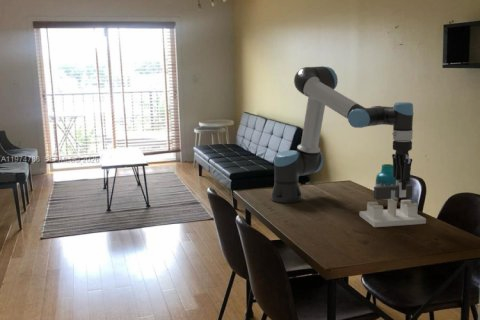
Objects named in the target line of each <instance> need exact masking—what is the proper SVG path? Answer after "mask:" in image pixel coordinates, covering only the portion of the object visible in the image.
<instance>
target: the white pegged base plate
mask: <svg viewBox="0 0 480 320" xmlns="http://www.w3.org/2000/svg"><path fill="white" fill-rule="evenodd" d="M397 203H398V202H396V201H394V200H393V199H388V206H387V209H384V206H382V205H379V204H378V202H377V201H367V203H366V210H361V211H360V210H359V213H358V214H359V217H360V218H362V219H363V220H364V221H365V222H367V223H369V224H370V225H371V226H372V227H373V228H382V227H394V226H395V227H397V226H410V225H411V226H412V225H423V224H427V219H426V218H425V217H424V216H422V215H420V214H418V203H417V202H412V200H411V199H401V200H400V208H397Z"/></svg>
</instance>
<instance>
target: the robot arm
mask: <svg viewBox="0 0 480 320" xmlns="http://www.w3.org/2000/svg"><path fill="white" fill-rule="evenodd" d="M293 83H294V86H295V89H296V91H298V92H299V93H300V94H302V95H304V96H305V97H307V104H306V110H305V114H304V116H305V117H304V122H303V128H302V136H301V142H300V144H298V145H297V146H296V147H297V148H296V150H289V149H288V150H282V151H279V152H277V153H276V154H275V155H274V160H273V161H274V162H273V165H274V166H273V168H274V169H273V170H274V171H273V172H274V173H273V174H274V176H273V177H274V185H273V187H272V190H271V193H270V199H271V201H273V202H274V203H282V204H283V203H284V204H291V203H293V204H294V203H298V202H300V201H302V200H303V194H302V191H301V189H300V185H299V177H301V176H306V175H313V174H314V173H317V172H319V171H320V170H321V169H322V167H323V165H324V157H323V154H322V152H321V148H320V147H319V143H320V137H321V132H322V124H323V121H324V114H325V109H326V107H328V108H329V109H331V110H332V111H334V112H335V113H337V114H339V115H341V116H342V117H344V118H346V119H347V122H348V123H349V125H350V126H351V127H353V128H358V129H362V128H367V127H374V126H379V125H380V126H381V125H385V126H386V125H389V126H392V127H393V128H392V131H393V132H392V140H393V141H392V150H394V151H395V153H392V154H391V158H392V165H393V177H395V180H396V185H399V197H400V198H399V199H402V198H401V197H406V185H407V183H408V182H410V179H411V172H412V171H411V169H412V163H413V158H410V153H409V152H410V151H411V150H412V149H413V141H412V140H413V132H414V130H413V123H414V122H413V121H414V105H413V103H412V102H407V101H406V102H405V101H400V102H399V101H398V102H395V103H394V104H393V106H382V105H374V106H371V107H364V106H363V105H361V104H359V103H357V102H356V101H354V100H352V99H350V98H349V97H347V96H345V95H344V94H342V93H341V92H338V91H337V90H335V89H336V88H337V86H338V83H339V82H338V75H337V73H336V72H335V70H334V69H333V68H331V67H329V66H307V67H302V68H300V69H299V70H298V71H297V72H296V73H295V75H294V78H293Z"/></svg>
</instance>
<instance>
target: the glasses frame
mask: <svg viewBox="0 0 480 320" xmlns="http://www.w3.org/2000/svg"><path fill="white" fill-rule="evenodd" d="M391 190H395V197H396V198H398V199H406V198H412V197H413V185H412V184H410V183H409V184H407V183H406V197H401V198H400V197H399V185H392V186H377V187H375V186H374V187H373V199H374V200H375V201H376V200H380V199H391Z"/></svg>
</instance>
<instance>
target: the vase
mask: <svg viewBox="0 0 480 320" xmlns="http://www.w3.org/2000/svg"><path fill="white" fill-rule="evenodd" d="M374 185H375V186H374V187H377V186H392V185H396V180H395V177H393V163H392V164H391V163H383V164H381V171H380V172H378V173H377V174H376V176H375V184H374ZM391 199H393V200H394V201H396V202H397V203H398V202H399V198H396V197H395V190H391ZM375 202H378V205H382V206H383V207H388V199H380V200H376V199H375Z"/></svg>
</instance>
